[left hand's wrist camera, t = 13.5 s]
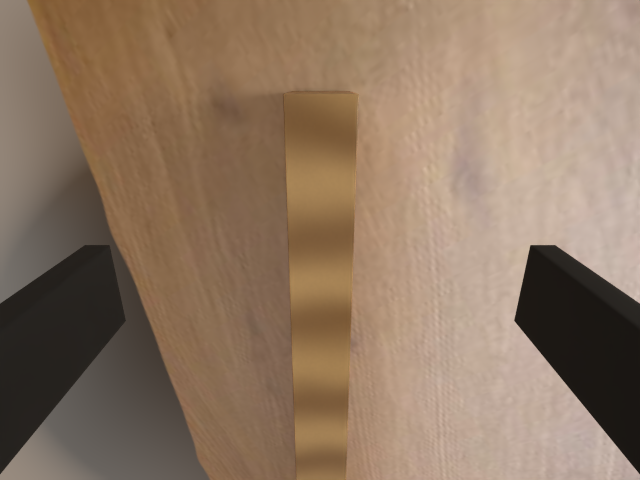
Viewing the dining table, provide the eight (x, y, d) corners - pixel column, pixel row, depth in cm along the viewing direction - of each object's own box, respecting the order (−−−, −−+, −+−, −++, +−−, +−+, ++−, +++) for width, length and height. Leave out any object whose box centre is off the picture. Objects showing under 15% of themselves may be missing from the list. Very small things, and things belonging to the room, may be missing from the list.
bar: (291, 91, 35) (283, 94, 27) (349, 91, 35) (358, 93, 27) (302, 506, 56) (299, 578, 48) (339, 506, 56) (342, 578, 48)
